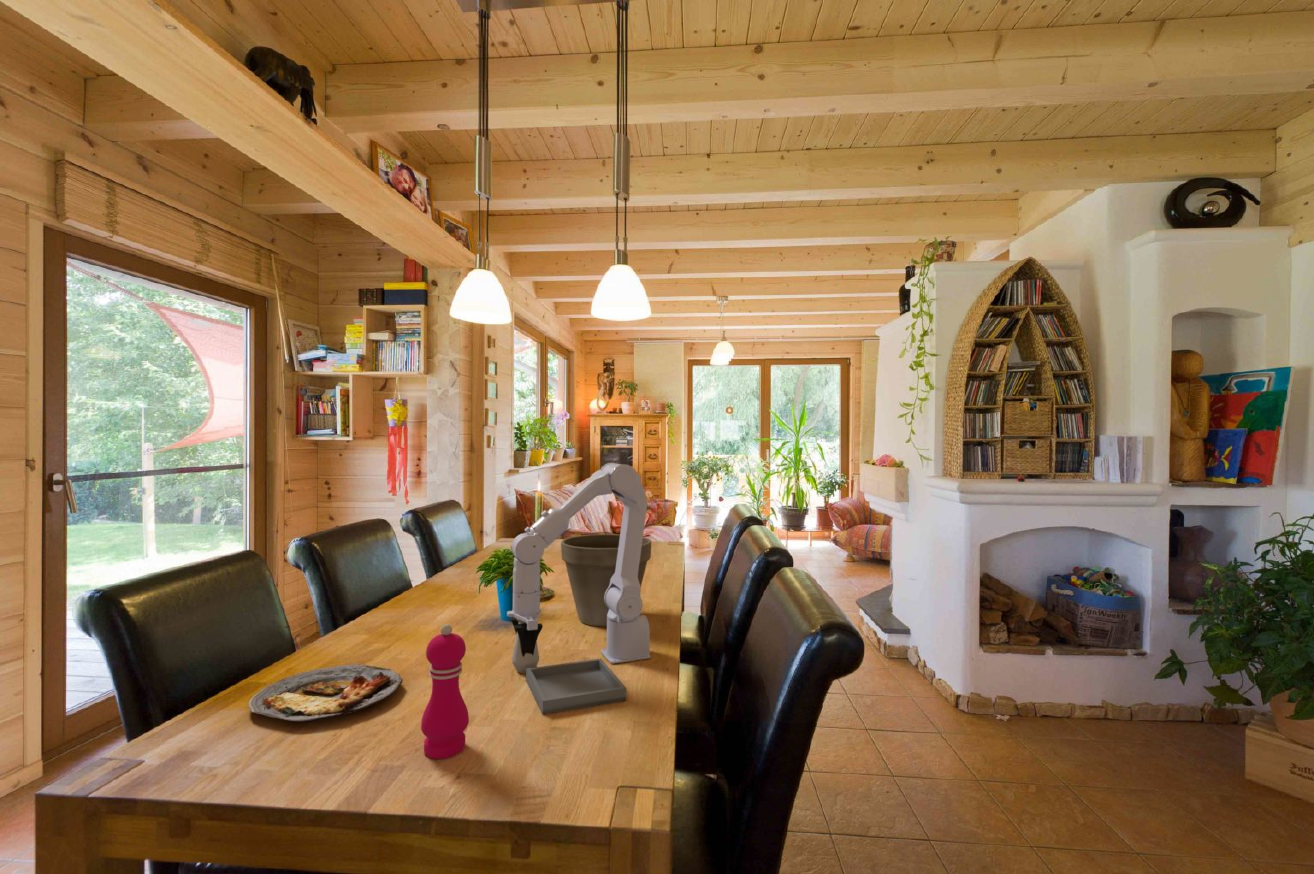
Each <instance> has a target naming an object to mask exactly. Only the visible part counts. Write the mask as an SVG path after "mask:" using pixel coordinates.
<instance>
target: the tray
mask: <svg viewBox="0 0 1314 874" xmlns="http://www.w3.org/2000/svg"><path fill="white" fill-rule="evenodd" d="M525 682H526V684H527V686H528V687H529V691H530V692H531V694H532V697H533V698H534V700H535V702H536V704H537V706H538V709H539V710H540V713H541V715H542V716H543V715H544V716H545V715H549V714H550V715H551V714H556V713H561V712H568V711H574V710H580V709H585V708H591V707H593V708H594V707H599V706H604V705H610V704H615V703H621V702H626V701H627V687H626V686H625V684H624V683H623V682H622V681H621V679H620V678H619V677H618V676H617V675H616V674H615V673H614V672H613V670H612V669H611V668H610V667H609V666H608V665H607V663H606V662H605V661H604V659H602V658H601V657H600V658H595V659H588V660H580V661H572V662H565V663H558V664H550V665H543V666H536V667H535V668H527V669H526V673H525Z"/></svg>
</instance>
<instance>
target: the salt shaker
mask: <svg viewBox="0 0 1314 874" xmlns="http://www.w3.org/2000/svg"><path fill="white" fill-rule="evenodd" d="M516 619H517V618H516ZM517 621H519V623H518V624H524V622H523V621H521V620H519V619H517ZM537 641H538V640H537ZM537 641H536V645H535V650H534V654H533V656H532V654H529V653H526V654H525V655H524V657H523V656H522V653H521V647H520V640H519V636H518V633H517V634H516V633H515V639H514V645H513V651H512V656H511V661H512V665H513V666H514V668H515V671H516V672H517V673H520V674H522V673H523V674H526V669H527V668H535V667H537V666H538V663H539V661H540V653H539V646H538V642H537Z"/></svg>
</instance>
